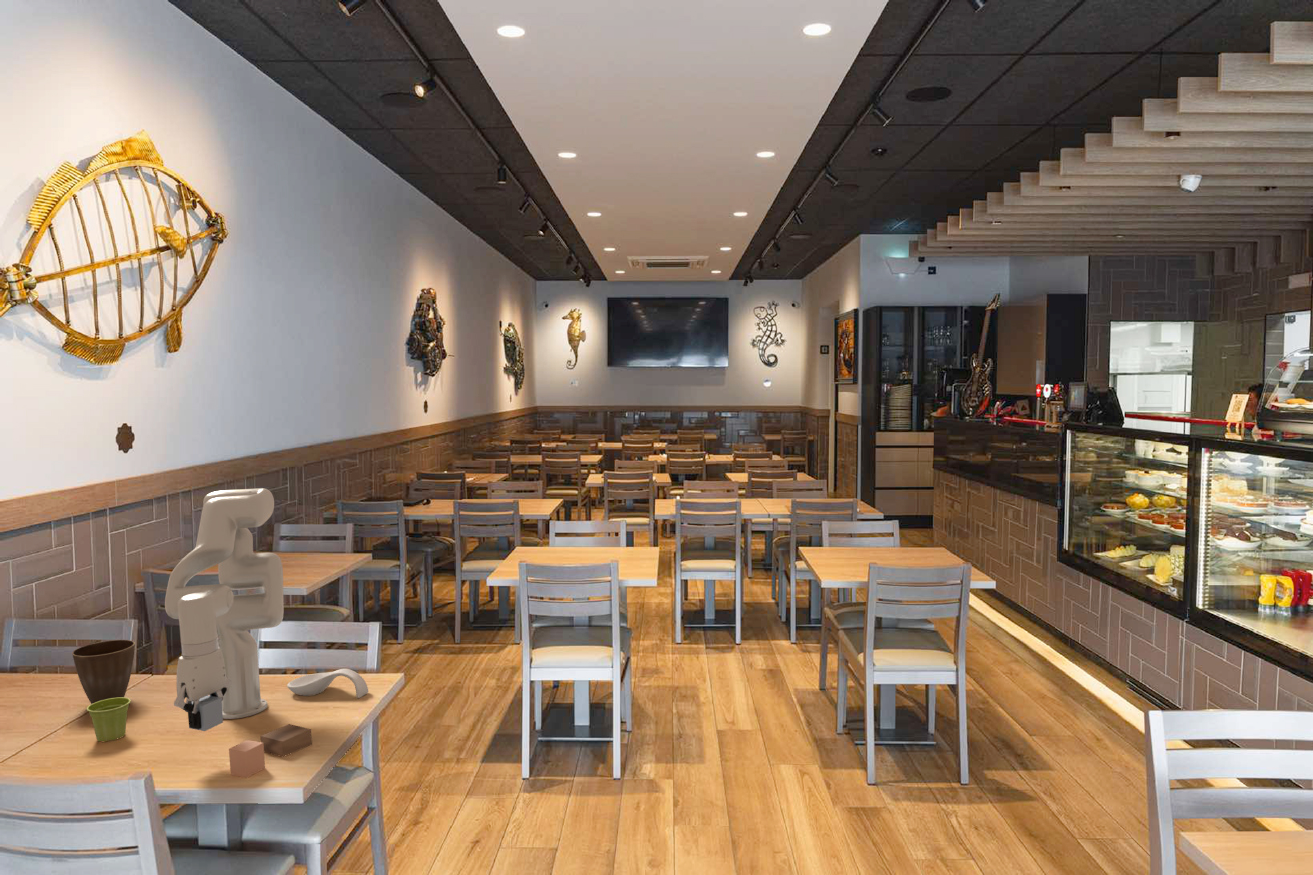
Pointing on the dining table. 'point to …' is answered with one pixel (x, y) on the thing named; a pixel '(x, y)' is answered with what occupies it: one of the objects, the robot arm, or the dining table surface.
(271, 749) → the walnut base
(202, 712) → the slate block
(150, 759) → the dining table surface
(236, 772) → the terracotta block
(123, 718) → the plant pot
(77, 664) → the plant pot
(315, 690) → the spoon rest
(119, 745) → the dining table surface
